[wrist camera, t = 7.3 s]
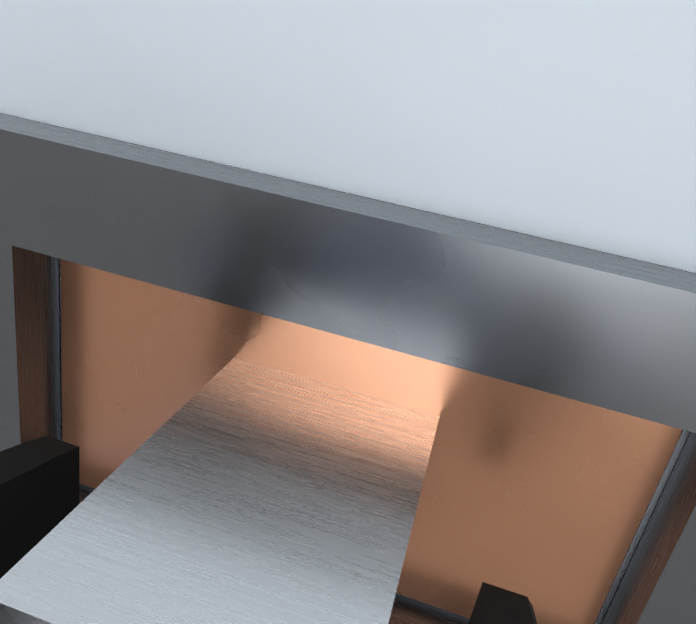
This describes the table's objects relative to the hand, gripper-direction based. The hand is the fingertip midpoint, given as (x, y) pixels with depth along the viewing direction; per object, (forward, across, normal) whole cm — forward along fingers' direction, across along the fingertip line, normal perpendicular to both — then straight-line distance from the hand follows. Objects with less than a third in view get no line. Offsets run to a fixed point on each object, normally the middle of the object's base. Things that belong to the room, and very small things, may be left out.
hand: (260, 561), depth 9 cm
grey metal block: (+3, 0, 0) cm, 3 cm away
